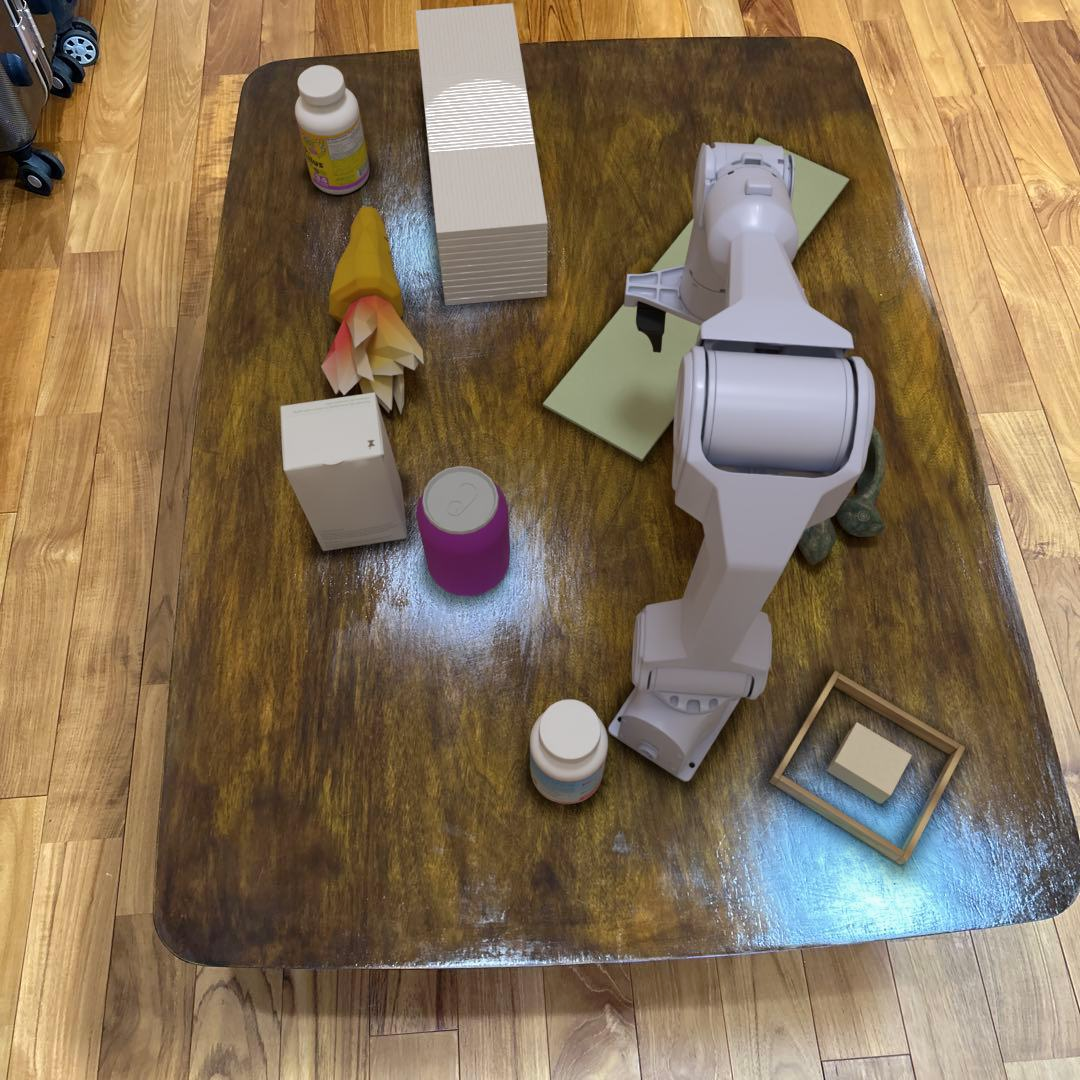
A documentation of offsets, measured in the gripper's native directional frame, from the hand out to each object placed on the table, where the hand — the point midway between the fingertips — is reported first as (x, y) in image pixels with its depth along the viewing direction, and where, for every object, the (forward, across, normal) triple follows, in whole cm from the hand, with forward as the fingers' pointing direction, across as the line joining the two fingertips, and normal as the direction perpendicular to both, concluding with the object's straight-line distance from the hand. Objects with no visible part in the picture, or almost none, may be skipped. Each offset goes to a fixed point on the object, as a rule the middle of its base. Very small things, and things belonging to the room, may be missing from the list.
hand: (700, 346), depth 97 cm
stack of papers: (+15, +24, -26) cm, 38 cm away
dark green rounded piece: (+9, -11, +10) cm, 18 cm away
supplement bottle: (+15, +40, -26) cm, 50 cm away
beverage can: (+8, +19, +20) cm, 29 cm away
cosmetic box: (+9, +30, +16) cm, 35 cm away
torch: (+12, +32, -6) cm, 34 cm away
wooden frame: (+5, -16, +35) cm, 39 cm away
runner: (+13, -1, -14) cm, 19 cm away
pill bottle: (+5, +8, +38) cm, 39 cm away
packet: (+5, -16, +35) cm, 39 cm away
